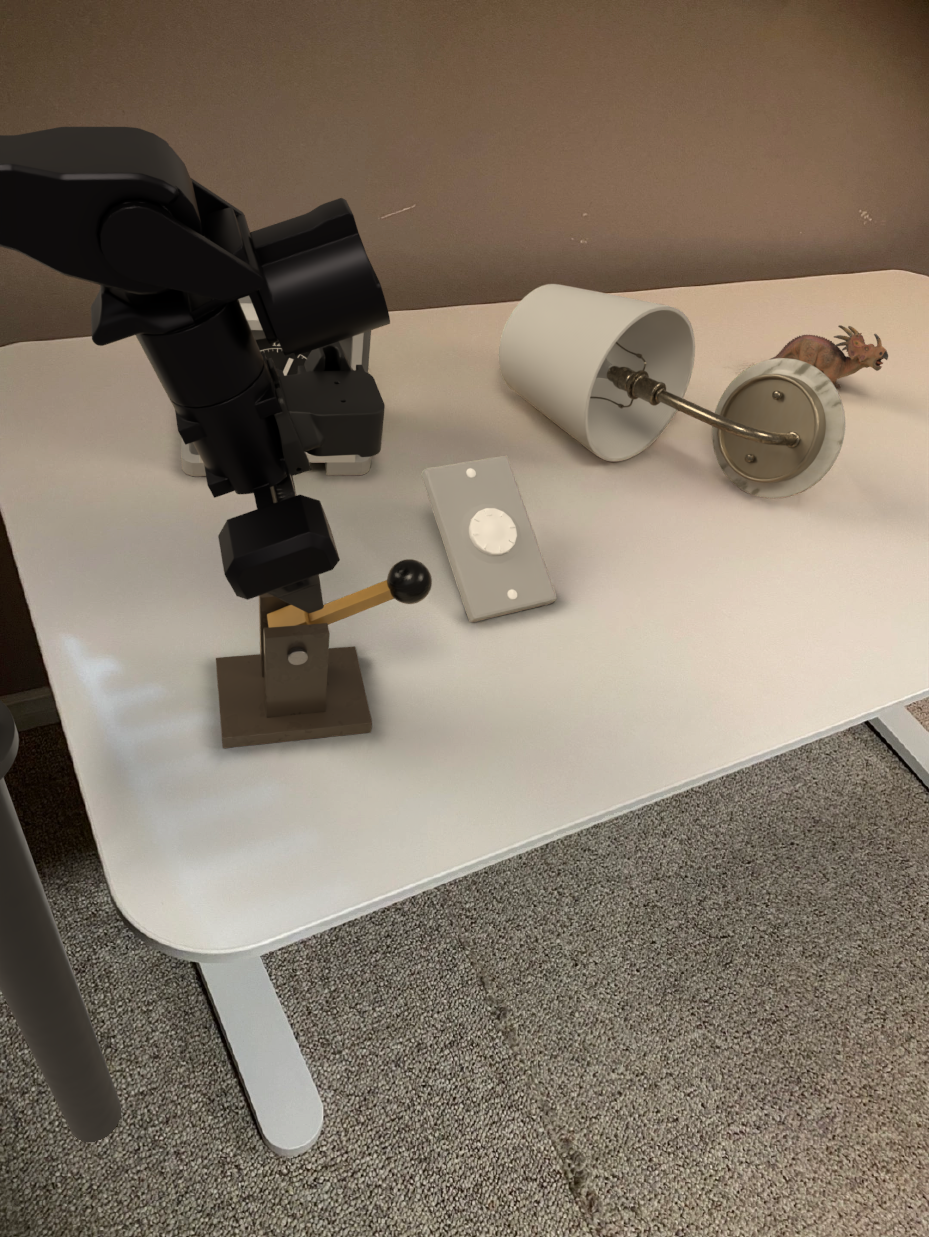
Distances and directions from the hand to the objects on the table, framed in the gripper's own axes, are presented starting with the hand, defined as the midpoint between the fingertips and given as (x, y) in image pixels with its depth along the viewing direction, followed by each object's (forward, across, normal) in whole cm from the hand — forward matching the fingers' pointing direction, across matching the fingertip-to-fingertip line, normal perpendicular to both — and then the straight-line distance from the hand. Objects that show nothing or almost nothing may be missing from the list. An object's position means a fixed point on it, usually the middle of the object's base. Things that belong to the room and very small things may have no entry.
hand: (304, 562), depth 64 cm
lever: (+6, -1, -2) cm, 6 cm away
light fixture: (+27, +27, -35) cm, 52 cm away
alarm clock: (+14, +34, +2) cm, 37 cm away
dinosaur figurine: (+37, +40, -63) cm, 83 cm away
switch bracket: (+12, -1, +5) cm, 13 cm away
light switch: (+19, +12, -13) cm, 26 cm away
